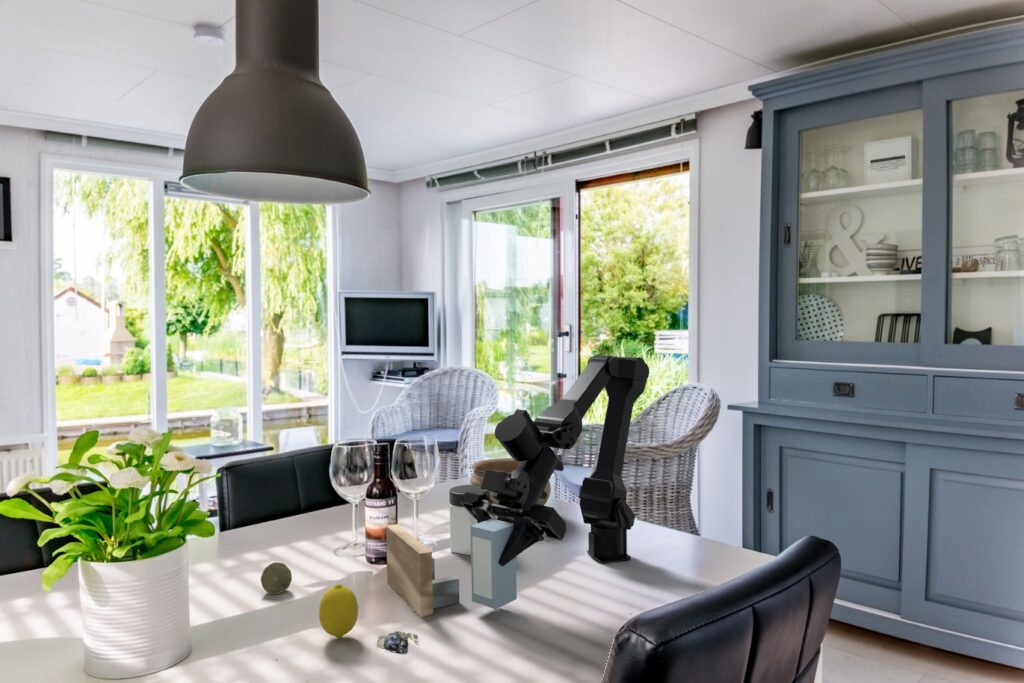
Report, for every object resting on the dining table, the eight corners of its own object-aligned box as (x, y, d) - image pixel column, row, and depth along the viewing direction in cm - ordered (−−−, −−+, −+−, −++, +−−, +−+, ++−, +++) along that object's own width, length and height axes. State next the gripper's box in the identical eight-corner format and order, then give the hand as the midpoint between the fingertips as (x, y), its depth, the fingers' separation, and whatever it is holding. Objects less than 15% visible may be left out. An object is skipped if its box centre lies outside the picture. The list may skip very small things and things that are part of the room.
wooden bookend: (427, 574, 130) (426, 519, 130) (465, 607, 115) (464, 546, 114) (387, 581, 126) (386, 525, 126) (420, 617, 111) (419, 553, 111)
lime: (295, 591, 123) (295, 562, 123) (269, 599, 119) (268, 569, 119) (283, 584, 126) (282, 556, 126) (257, 592, 123) (256, 563, 122)
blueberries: (410, 632, 107) (410, 619, 107) (434, 653, 100) (434, 640, 100) (367, 644, 104) (367, 631, 103) (389, 666, 97) (389, 653, 97)
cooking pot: (452, 510, 173) (452, 459, 173) (523, 500, 181) (522, 452, 180) (494, 538, 150) (493, 480, 150) (572, 526, 158) (572, 471, 158)
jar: (461, 558, 138) (460, 496, 138) (441, 547, 145) (440, 488, 145) (500, 549, 143) (499, 490, 143) (479, 539, 150) (478, 482, 150)
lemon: (323, 631, 107) (322, 578, 107) (360, 629, 107) (359, 576, 107) (316, 648, 101) (315, 592, 101) (356, 646, 102) (354, 590, 102)
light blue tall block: (493, 591, 117) (491, 518, 116) (516, 599, 113) (515, 524, 113) (470, 601, 113) (469, 526, 112) (494, 609, 109) (493, 532, 109)
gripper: (466, 443, 121) (419, 522, 113) (554, 456, 109) (508, 546, 101) (498, 480, 127) (455, 558, 119) (584, 496, 115) (543, 584, 107)
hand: (487, 561), depth 112 cm, fingers closed on light blue tall block, 5 cm apart
